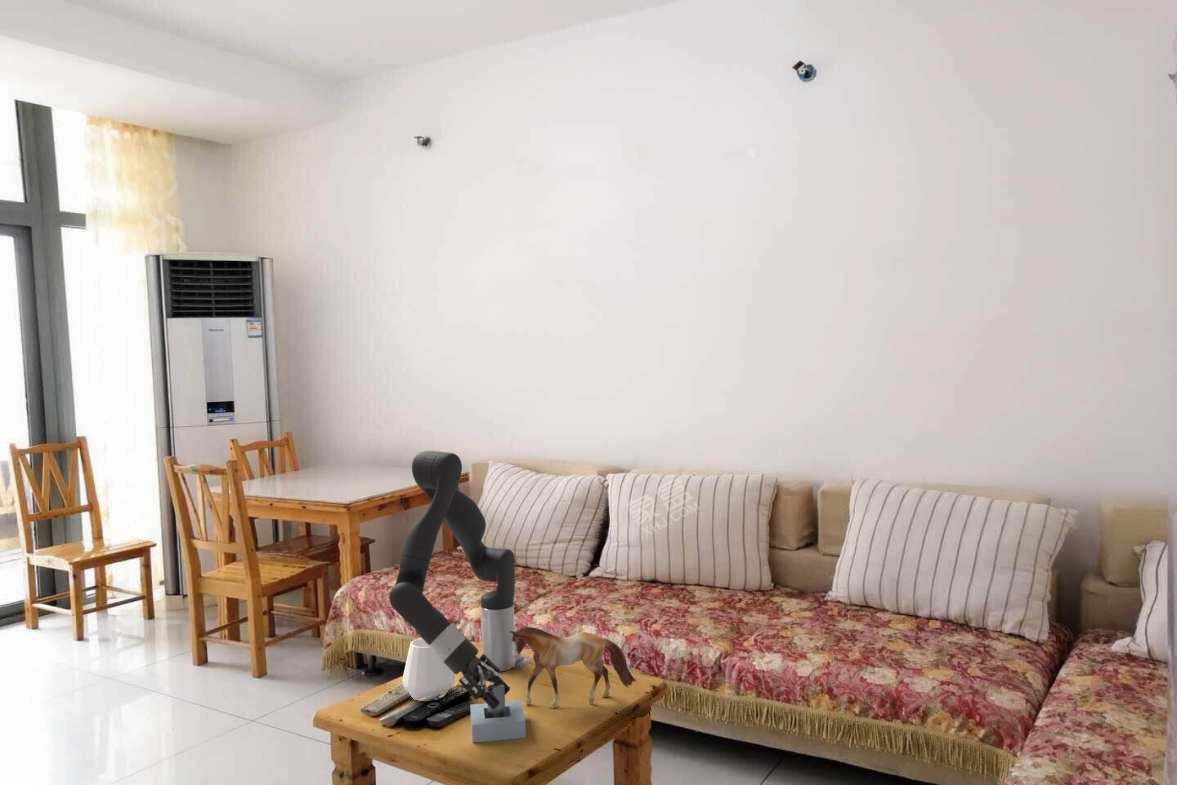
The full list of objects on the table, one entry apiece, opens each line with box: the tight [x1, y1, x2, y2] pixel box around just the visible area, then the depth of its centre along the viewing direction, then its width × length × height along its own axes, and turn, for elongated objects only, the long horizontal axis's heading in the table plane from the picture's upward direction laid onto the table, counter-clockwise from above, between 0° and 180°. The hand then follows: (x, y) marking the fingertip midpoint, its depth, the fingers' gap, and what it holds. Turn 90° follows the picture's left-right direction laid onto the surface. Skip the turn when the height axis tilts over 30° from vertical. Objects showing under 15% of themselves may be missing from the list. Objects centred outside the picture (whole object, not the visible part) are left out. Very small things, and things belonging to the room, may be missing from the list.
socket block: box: [470, 699, 527, 743], centre depth 202 cm, size 12×12×4 cm
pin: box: [487, 683, 506, 718], centre depth 202 cm, size 4×4×10 cm
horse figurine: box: [509, 626, 637, 707], centre depth 216 cm, size 31×8×21 cm, turn 100°
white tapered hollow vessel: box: [402, 637, 456, 701], centre depth 224 cm, size 13×13×14 cm
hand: (502, 699), depth 201 cm, fingers open, 8 cm apart
